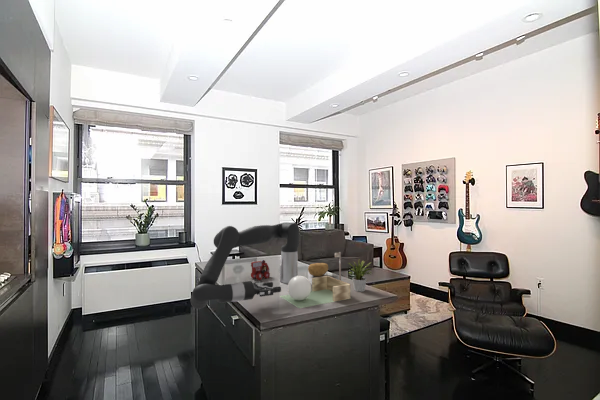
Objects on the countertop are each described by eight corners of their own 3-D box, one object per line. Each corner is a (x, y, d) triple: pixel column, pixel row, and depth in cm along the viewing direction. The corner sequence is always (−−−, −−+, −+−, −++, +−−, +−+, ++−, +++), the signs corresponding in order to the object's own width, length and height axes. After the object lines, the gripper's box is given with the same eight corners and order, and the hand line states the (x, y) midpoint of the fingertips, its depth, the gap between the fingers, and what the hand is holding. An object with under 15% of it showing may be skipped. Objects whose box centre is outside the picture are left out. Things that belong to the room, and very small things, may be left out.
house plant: (353, 296, 152) (353, 262, 152) (338, 289, 165) (338, 257, 165) (378, 293, 158) (378, 260, 158) (362, 286, 171) (362, 255, 171)
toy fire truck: (272, 277, 190) (272, 260, 190) (255, 281, 182) (255, 262, 182) (265, 275, 195) (265, 258, 195) (248, 279, 187) (248, 261, 187)
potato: (332, 276, 193) (332, 262, 193) (314, 279, 186) (314, 265, 186) (322, 273, 202) (322, 260, 201) (304, 276, 194) (304, 262, 194)
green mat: (299, 309, 135) (299, 308, 135) (279, 296, 153) (279, 296, 153) (351, 299, 149) (351, 298, 149) (328, 288, 166) (328, 288, 166)
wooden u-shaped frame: (334, 301, 144) (334, 257, 144) (312, 290, 161) (311, 251, 161) (353, 298, 150) (353, 255, 149) (329, 287, 167) (329, 249, 166)
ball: (282, 301, 145) (282, 277, 145) (295, 295, 154) (295, 272, 154) (303, 305, 139) (303, 280, 139) (315, 298, 149) (315, 275, 149)
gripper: (246, 286, 127) (283, 281, 135) (236, 278, 140) (270, 274, 147) (246, 305, 127) (283, 299, 135) (235, 295, 140) (270, 291, 147)
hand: (276, 286), depth 141 cm, fingers open, 8 cm apart
